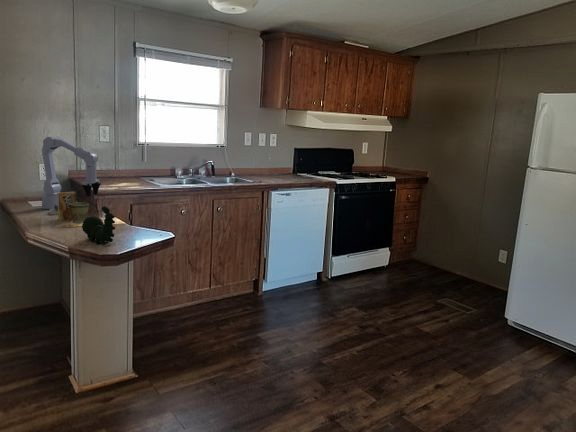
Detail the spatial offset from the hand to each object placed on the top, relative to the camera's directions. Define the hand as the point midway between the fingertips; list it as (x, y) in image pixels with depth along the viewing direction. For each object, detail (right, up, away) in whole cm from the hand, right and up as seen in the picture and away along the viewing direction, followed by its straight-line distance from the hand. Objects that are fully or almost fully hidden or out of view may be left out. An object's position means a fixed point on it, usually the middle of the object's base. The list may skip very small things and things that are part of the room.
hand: (91, 195), depth 284 cm
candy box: (-4, -15, -24) cm, 28 cm away
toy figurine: (+31, -25, -65) cm, 76 cm away
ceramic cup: (+5, -16, -26) cm, 31 cm away
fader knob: (-17, -9, -9) cm, 21 cm away
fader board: (-12, -11, -6) cm, 17 cm away
